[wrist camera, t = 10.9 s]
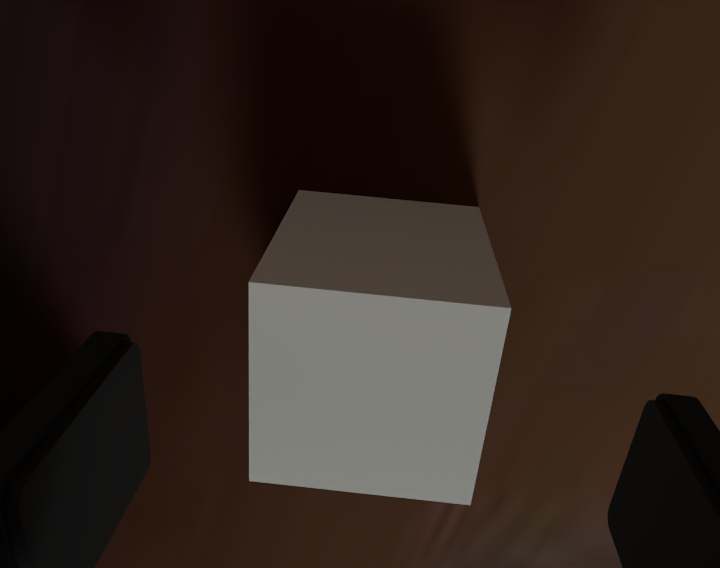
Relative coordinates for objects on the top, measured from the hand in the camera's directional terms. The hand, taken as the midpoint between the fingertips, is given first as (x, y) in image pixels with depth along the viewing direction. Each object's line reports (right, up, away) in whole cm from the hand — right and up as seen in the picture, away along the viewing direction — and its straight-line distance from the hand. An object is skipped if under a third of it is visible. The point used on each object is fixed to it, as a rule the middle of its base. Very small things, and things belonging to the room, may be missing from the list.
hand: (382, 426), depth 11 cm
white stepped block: (0, +1, +7) cm, 8 cm away
